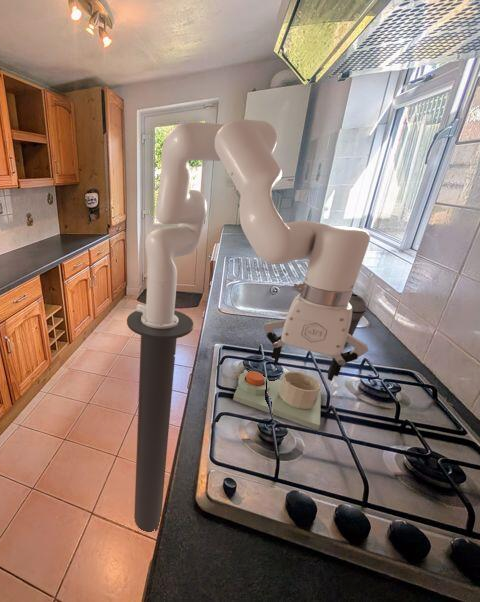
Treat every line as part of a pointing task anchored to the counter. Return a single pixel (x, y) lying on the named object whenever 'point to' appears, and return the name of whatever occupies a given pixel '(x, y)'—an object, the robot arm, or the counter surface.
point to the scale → (276, 402)
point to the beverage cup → (356, 312)
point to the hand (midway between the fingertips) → (301, 368)
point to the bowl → (299, 390)
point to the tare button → (255, 378)
